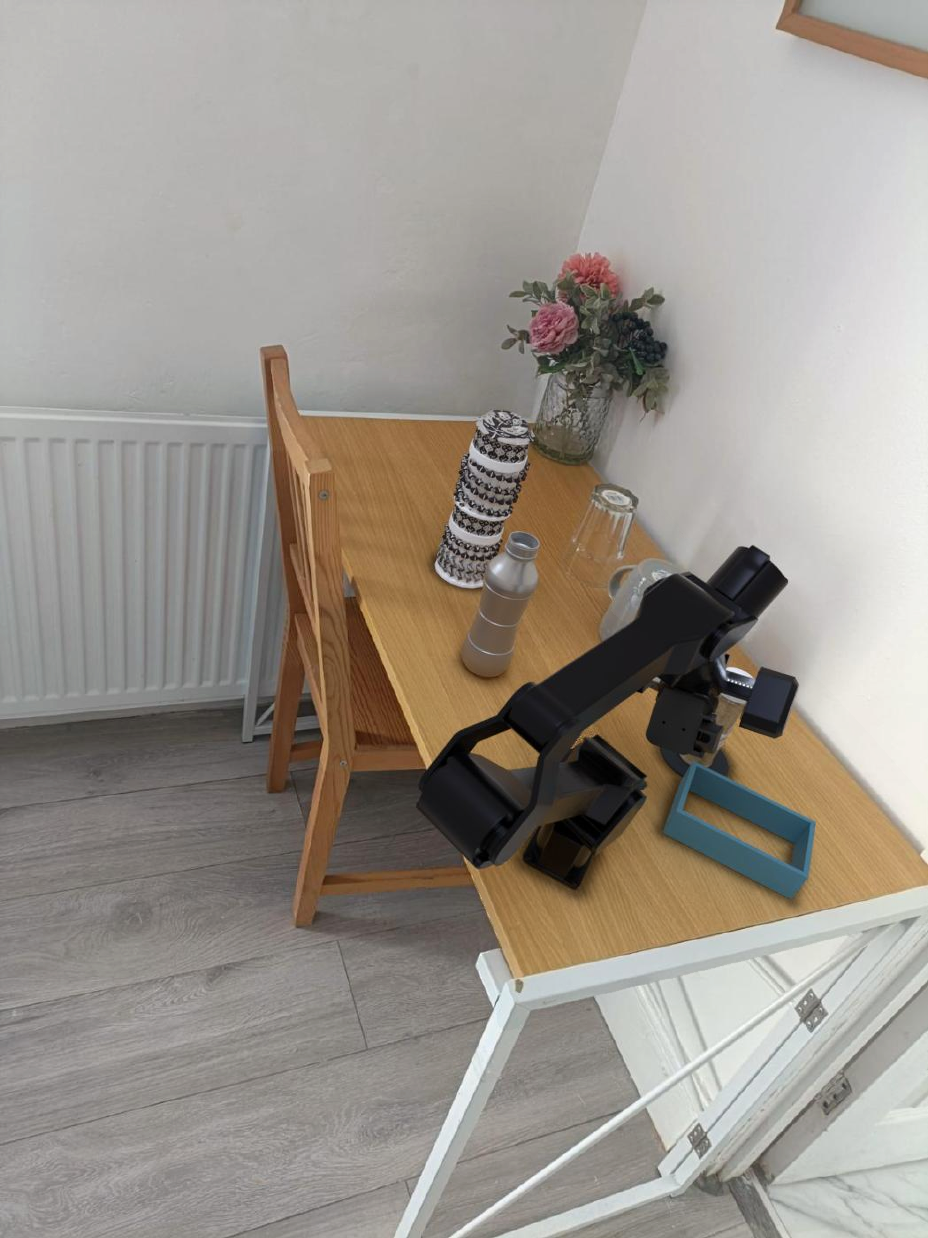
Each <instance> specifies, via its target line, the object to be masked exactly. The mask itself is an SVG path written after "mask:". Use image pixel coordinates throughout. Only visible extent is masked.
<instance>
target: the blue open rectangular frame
mask: <svg viewBox="0 0 928 1238" xmlns="http://www.w3.org/2000/svg"><path fill="white" fill-rule="evenodd" d="M689 792H691V793H694V794H695V795H698V796H699V797H700V798H703V799H705V800H707V801H709V802H711V803H714V805H717V806H719V807H721V808H723V809H725V810H727V811H728V812H731V813H732V814H735V815H736V816H739V817H741V818H743V819H745V820H747V821H749V822H750V823H752V824H754V825H757V826H759V827H761V828H763V829H764V830H766V831H768V832H770V833H772V834H774V835H776V836H778V837H780V838H782V839H785V840H786V841H788V842H790V843H792V844H793V850H792V858H791V863H790V864H789V863H787V862H785V861H783V860H781V859H779V858H777V857H775V856H774V855H771V854H769V853H767V852H765V851H764V850H762V849H759V847H756V846H753V844H752V845H751V844H749V843H748V842H746V841H745V840H742V839H740V838H738V837H736V836H734V835H732V834H730V833H729V832H726V831H724V830H722V829H721V828H718V827H716V826H715V825H713V824H710V823H709V822H706V821H705V820H703V819H700V817H697V816H695V815H693V814H691V813H690V812H687V811H686V810H684V807H685V804H686V801H687V797H688V794H689ZM816 824H817V822H816V821H815V820H813V819H811V818H809V817H808V816H806V815H803V814H801V813H799V812H797V811H795V810H793V809H791V808H789V807H787V806H785V805H783V804H781V803H779V802H777V801H775V800H773V799H771V798H769V797H767V796H765V795H763V794H761V793H759V792H757V791H755V790H753V789H751V788H749V787H747V786H745V785H743V784H741V783H739V782H737V781H735V780H733V779H731V778H729V777H727V776H726V777H725V776H723V775H721V774H719V773H717V772H715V771H713V770H711V769H709V768H707V767H705V766H703V765H701V764H699V763H697V762H695V761H693V762H692V763H691V765H690V767H689V768H688V770H687V772H686V773H685V775H684V777H682V778H681V780H680V782H679V784H678V788H677V790H676V794H675V795H674V798H673V802H672V805H671V808H670V811H669V814H668V816H667V819H666V822H665V825H664V828H663V831H662V834H664V835H666V836H668V837H669V838H671V839H673V840H674V841H677V842H679V843H681V844H683V845H684V846H687V847H688V848H691V849H692V850H695V851H697V852H699V853H700V854H702V855H704V856H706V857H707V858H709V859H712V860H713V861H715V862H717V863H720V864H721V865H723V866H725V867H727V868H729V869H731V870H733V871H735V872H737V873H738V874H740V875H743V876H745V877H747V878H748V879H751V880H752V881H754V882H756V883H758V884H760V885H762V886H764V887H766V888H768V889H770V890H771V891H773V892H775V893H777V894H779V895H781V896H783V897H785V898H787V899H788V900H792V899H793V898H794V896H795V895H796V894H797V893H798V891H799V890H800V889H801V888H802V887H803V885H804V884H805V883H806V881H807V880H808V879H809V874H810V867H811V860H812V853H813V848H814V847H813V845H814V839H815V832H816Z"/></svg>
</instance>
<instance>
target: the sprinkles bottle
mask: <svg viewBox="0 0 928 1238" xmlns="http://www.w3.org/2000/svg"><path fill="white" fill-rule="evenodd" d="M726 670H728V671H731V672H734V673H738V674H741V675H744V676H747V677H750V678H753V679H755V678H754V676H752V675H751V674H750V673H748V672H747V671H746V670H744V669H740V668H738V667H733V666H727V668H726ZM727 681H729V679H728V680H727ZM731 682H733V680H732V681H731ZM735 683H736V684H737V681H736V682H735ZM739 685H741V682H740V683H739ZM742 686H745V684H743V685H742ZM746 687H749V685H747V686H746ZM751 688H752V686H751ZM717 698H718V699H719V704H718V707H717V710H716V712H715V714H716V715H717V717H716V723H718V724H720V725H723V727H724V728H723V732H722V735H721V738H720V741H719V744H718V747H717V750H716V752H715V753H714V754H710V753H705V755H704V757H703V759H701V758H698V757H695V756H692V755H690V754H687V755H681V754H679V755H680V757H681V758H682V759H683V761H684V762H686V763H687V764H688V765H691V763H692V762H693V761H695V762H697V763H699V764H701V765H703V766H705V767H707V768H708V767H709V766H710V765H711V764H712V762H713V759H714V757H715V756H716V754H717V752H718V751H719V749H721V748H722V747H723V746H724V743H725V742H726V740H727V738H728V736H729V735H730V733H731V731H733V729H734V727H735V725H736V723H737V722H738V719H740V716H741V713H742V710H743V708H744V705H745V702H746V701H744V700H741V699H738V698H735V697H732V696H729V695H726V694H723V693H721V694H720V695H719V696H718V697H717ZM713 714H714V713H713Z"/></svg>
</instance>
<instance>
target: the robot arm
mask: <svg viewBox="0 0 928 1238" xmlns="http://www.w3.org/2000/svg"><path fill="white" fill-rule="evenodd" d="M788 585H789V579H788V578H787V577H786V576H785V574H783V572H782V571H781V570H780V569H779V568H778V566H776V564H774V562H772V560H771V555H769V554H768V553H767V552H765V551H763V550H762V549H760V547H759V548H758V546H755V545H754V544H751V545H750V547H748V546H745V545H741V546H737V547H736V548H735V549H734V550H733V551H732V553H731V554H730V555H728V557H727V558H726V559H725V561H724V562H723V563H721V565H720V566H719V567H718V568H717V569H716V570H715V572H713V574H712V575H711V577H709V579H707V581H704V580H703V579H701V578H700V577H698V576H697V575H695V574H694V573H693V572H691V571H689V570H688V571H684V572H681V573H679V572H678V573H672V574H670V575H668V576H666V577H662V578H659V579H657V580H656V581H655V582H654V583H651V584H650V585H648V586H647V587H646V589H645V590H644V591H643V593H642V598H641V600H640V602H639V603H640V604H639V606H638V609H637V611H636V614H635V617H634V619H633V620H631V621H630V622H629V623H627V624H626V625H625V626H623V627H622V628H620V629H618V630H617V631H615V632H614V633H613V634H611V635H609V636H608V637H607V638H605V639H604V640H602V641H601V642H599V643H597V644H596V645H595V646H593V647H592V648H590V649H588V650H587V651H586V652H584V653H582V654H581V655H580V656H578V657H576V658H575V659H573V660H572V661H571V662H569V663H567V664H566V665H565V666H563V667H561V668H559V669H558V670H557V671H555V672H553V674H551V675H549V676H548V677H546V678H544V679H543V680H541V681H540V682H538V683H536V682H535V681H528V682H525V683H524V684H522V685H521V686H520V687H519V688H517V689H516V691H515V692H514V693H512V695H511V696H510V697H509V698H508V700H507V701H506V702H505V704H503V706H502V707H501V709H500V710H499V711H498V712H497V714H495V715H494V716H491V717H488V718H486V719H484V720H482V721H479V722H477V723H474V724H472V725H470V726H467V727H465V728H462V729H460V730H458V731H457V732H455V733H454V734H453V736H452V737H450V739H449V740H448V741H447V743H446V744H445V745H444V747H443V748H442V749H441V750H440V752H439V754H438V755H437V756H436V757H435V758H434V760H433V761H432V762H431V763H430V765H429V766H428V768H427V769H426V770H425V771H424V773H423V774H422V776H421V778H420V779H419V782H418V790H419V791H420V792H421V794H420V796H419V799H418V801H417V802H416V805H415V807H416V809H417V810H418V811H419V812H420V813H421V814H422V815H423V816H424V817H425V818H426V819H427V820H428V821H429V822H430V823H431V825H432V826H434V827H435V828H436V830H437V831H438V832H439V833H440V834H441V835H443V837H444V838H445V839H446V840H447V841H448V842H449V843H450V844H451V845H452V846H453V847H454V848H455V849H456V850H457V851H458V852H459V853H460V854H461V855H462V856H463V857H464V858H465V859H466V860H467V861H468V862H469V863H470V864H471V866H473V867H474V868H475V869H477V870H485V869H487V868H490V867H492V866H496V867H499V866H502V865H504V864H505V863H506V862H508V861H509V860H510V859H511V858H512V857H513V856H514V855H515V854H516V853H517V852H518V851H519V850H520V849H521V847H522V846H523V845H524V844H525V842H526V841H527V840H528V839H529V837H530V836H531V835H532V833H533V832H534V833H533V835H532V837H531V839H530V841H529V843H528V845H527V847H526V848H525V851H524V853H523V855H521V861H522V862H523V863H525V864H526V865H529V866H531V867H532V868H534V869H536V870H538V871H539V872H541V873H543V874H545V875H547V876H549V877H551V878H553V879H554V880H556V881H558V882H560V883H562V884H564V885H566V886H567V887H569V888H571V889H573V890H578V889H579V888H580V886H581V885H582V882H583V880H584V877H585V876H586V873H587V870H588V868H589V866H590V863H591V861H592V859H593V856H594V857H597V856H598V855H599V854H600V853H601V852H603V851H604V850H605V849H606V848H608V847H609V846H611V845H612V844H613V843H614V842H615V841H616V840H618V839H619V838H620V837H621V836H622V835H623V834H624V832H626V830H627V828H628V827H629V825H631V823H632V821H633V820H634V818H635V817H636V815H637V814H638V813H639V811H640V810H641V809H642V807H643V806H644V804H645V802H646V801H647V798H648V796H647V795H646V794H645V793H644V792H642V791H644V790H645V789H647V788H648V781H647V780H646V779H647V777H648V775H647V774H646V773H645V772H643V771H642V770H641V769H640V768H639V767H638V766H637V765H635V764H634V763H632V762H631V761H630V760H629V759H628V758H627V757H626V756H624V755H623V754H622V753H621V752H620V751H618V750H617V749H616V748H615V747H613V745H611V744H610V743H609V742H608V741H606V740H605V739H604V738H603V737H602V736H601V735H599V734H598V733H597V734H595V735H594V736H591V737H588V736H584V737H583V739H582V741H581V742H579V743H577V744H576V745H575V743H576V742H577V741H578V739H579V738H580V736H581V735H582V733H583V732H584V731H586V730H587V729H588V728H590V727H591V726H593V724H595V723H596V722H597V721H599V720H600V719H602V718H603V717H604V716H606V715H607V714H609V713H610V712H611V711H612V710H614V709H615V708H616V707H618V706H619V705H621V704H622V703H623V702H625V701H626V700H627V699H629V698H630V697H631V696H633V695H634V694H635V693H639V694H642V695H643V694H644V693H645V692H646V690H648V689H651V690H652V691H655V692H657V693H656V696H655V699H654V700H655V701H654V705H653V707H652V708H653V709H652V711H651V715H650V718H649V721H648V724H647V728H646V730H645V739H646V740H647V742H648V743H650V744H651V745H653V746H656V747H659V748H660V747H661V748H664V749H667V750H670V751H672V752H675V753H678V754H681V755H687V754H690V755H692V756H695V757H698V758H701V759H703V757H704V755H705V753H710V754H714V753H715V752H716V750H717V747H718V744H719V741H720V738H721V735H722V732H723V728H724V727H723V725H720V724H718V723H716V717H717V715H716V714H715V712H716V710H717V707H718V704H719V699H718V698H717V697H718V696H719V695H720V694H721V693H723V694H726V695H729V696H732V697H735V698H738V699H741V700H744V701H746V702H745V705H744V708H743V710H742V713H741V714H740V716H739V722H738V723H739V724H738V728H741V729H744V730H747V731H749V732H752V733H755V734H759V735H762V736H765V737H769V738H770V739H773V740H775V739H778V738H780V737H782V736H783V734H784V732H785V729H786V726H787V723H788V720H789V718H790V714H791V711H792V709H793V706H794V704H795V699H797V698H796V697H797V694H798V692H799V688H800V684H799V681H798V679H797V678H796V676H794V675H789V674H786V673H784V672H780V671H778V670H774V669H772V668H771V669H770V668H768V667H764V666H760V668H759V670H758V671H757V675H756V677H755V678H754V677H753V678H754V679H753V678H750V677H747V676H744V675H741V674H738V673H734V672H731V671H728V670H726V668H728V666H729V663H730V660H731V654H728V653H727V651H729V650H730V649H731V648H732V647H734V646H735V645H737V644H738V643H739V642H740V641H741V640H743V639H744V638H745V636H746V635H748V633H749V632H750V631H751V630H752V629H753V627H755V625H757V623H758V622H759V618H760V617H761V616H762V614H763V613H764V612H765V611H766V610H767V609H768V608H769V606H770V605H771V604H773V602H774V601H775V600H776V599H777V598H778V597H779V595H780V594H781V593H782V592H783V590H785V588H786V587H787V586H788ZM728 679H729V681H727V680H728ZM732 680H733V682H731V681H732ZM736 681H737V684H736V683H735V682H736ZM740 682H741V685H739V683H740ZM743 684H745V686H742V685H743ZM747 685H749V687H746V686H747ZM751 686H752V688H751ZM713 713H714V714H713ZM510 730H512V731H513V732H514V733H516V735H518V736H519V737H520V738H521V739H522V740H523V741H524V742H526V744H528V745H529V747H531V748H533V750H535V751H536V752H537V753H538V756H537V760H536V765H535V766H529V767H528V766H526V767H519V768H514V769H506V768H504V767H503V766H500V765H499V764H498V763H496V762H494V761H492V760H491V759H489V758H487V757H485V756H484V755H482V754H479V753H474V752H472V751H473V750H474V749H475V747H476V746H477V744H478V743H479V742H480V743H481V742H483V741H485V740H486V739H487V740H488V739H490V738H491V737H495V736H497V735H499V734H502V733H504V732H507V731H510Z"/></svg>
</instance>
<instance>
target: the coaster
mask: <svg viewBox="0 0 928 1238" xmlns="http://www.w3.org/2000/svg"><path fill="white" fill-rule="evenodd" d="M659 750H660V754H661V756H662V758H663V760H664V762H665V763H666V765H668V767H669V768H671V769H672V770H673V771H674V772H675V773H676V774H677V775H679V776H680V777H682V778H683V777H684V775H685V773H686V772H687V770H688V768H689V767H690V765H688V764H687V763H686V762H684V761H683V759H682V758H681V757H680V755H679V754H678V753H675V752H672V751H670V750H667V749H664V748H661V747H659ZM708 768H709V769H711V770H713V771H715V772H717V773H719V774H721V775H723V776H725V777H727V776H728V774H729V771H730V766H729V762H728V757H726V754H725V753H724V751H723V750H722V749H721V748H720V749H719V751H718V752H717V754H716V756H715V757H714V759H713V762H712V764H711V765H710V766H709V767H708Z"/></svg>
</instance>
